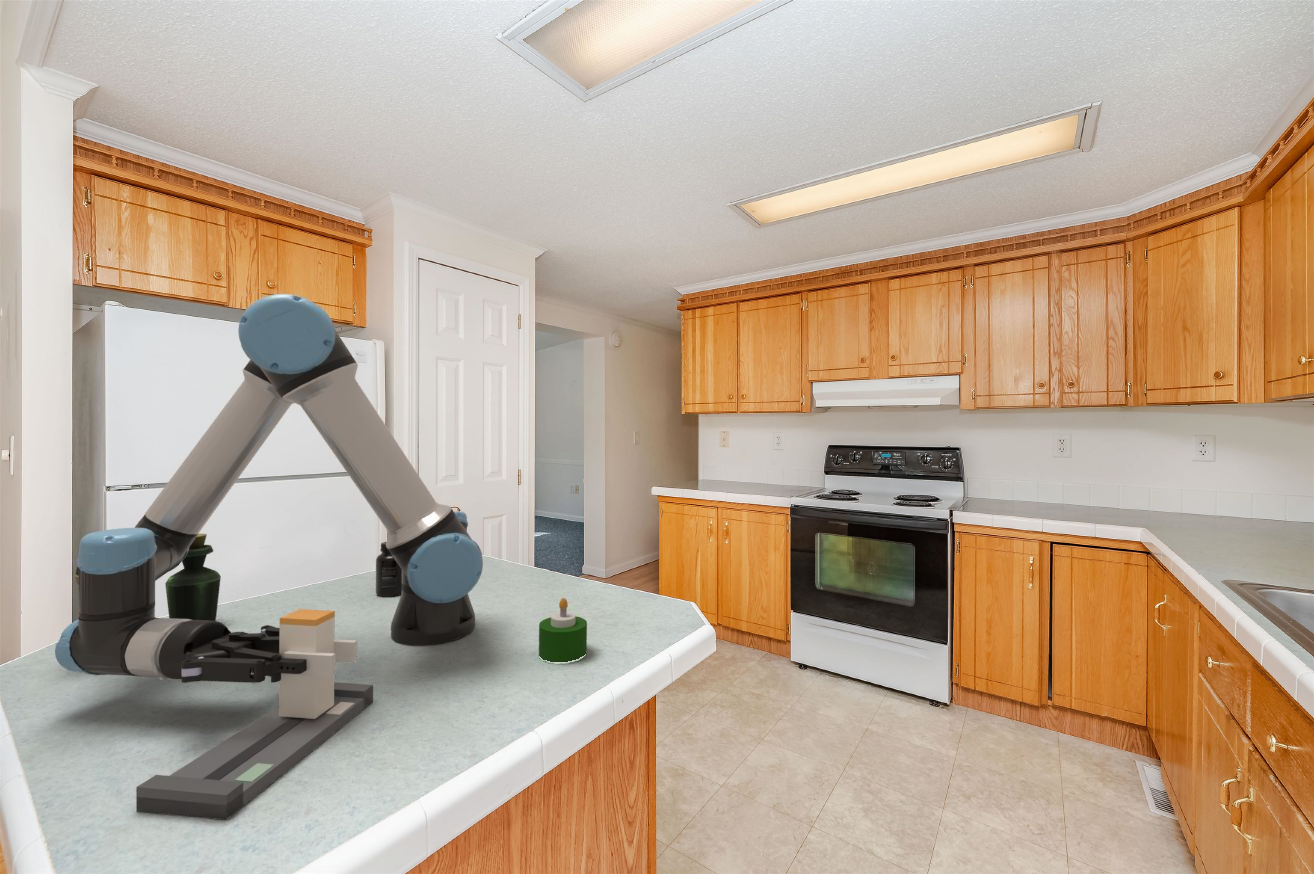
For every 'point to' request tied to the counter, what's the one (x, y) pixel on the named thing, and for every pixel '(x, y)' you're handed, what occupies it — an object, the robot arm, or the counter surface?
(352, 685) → the dark grey slider track
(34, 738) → the counter surface
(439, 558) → the robot arm
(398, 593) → the supplement bottle
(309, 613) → the handle
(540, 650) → the candle
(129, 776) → the counter surface
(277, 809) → the counter surface
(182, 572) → the potion bottle
